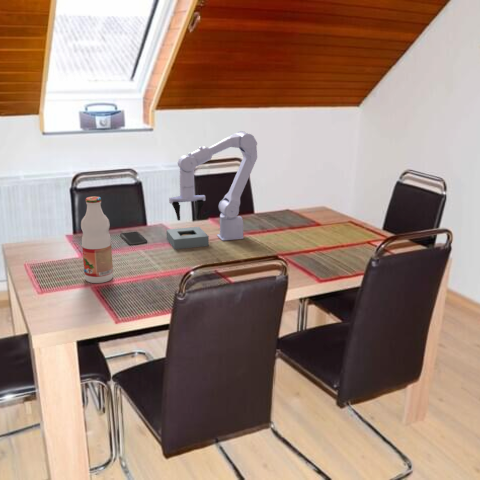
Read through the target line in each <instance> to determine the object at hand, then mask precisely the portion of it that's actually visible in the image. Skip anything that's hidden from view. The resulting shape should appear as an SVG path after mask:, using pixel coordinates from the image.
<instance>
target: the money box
mask: <svg viewBox="0 0 480 480" xmlns="http://www.w3.org/2000/svg"><path fill="white" fill-rule="evenodd" d="M165 234H166V240H167V242H168V243H169V244H170V245H171V247H172V248H173V249H174V250H178V249H179V250H181V249H191V248H200V247H209V242H210V241H209V239H210V238H209V235H208V234H207V233H206V232H205V231H204V230H203V229H202V228H201V227H200V226H193V227H182V228H179V227H178V228H168V229H166V233H165ZM183 234H191V235H184V236H182V235H183Z"/></svg>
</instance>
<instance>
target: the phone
mask: <svg viewBox="0 0 480 480" xmlns="http://www.w3.org/2000/svg"><path fill="white" fill-rule="evenodd" d="M119 236H120V237H121V238H122V239H123V241H126V242H125V243H126V244H127V245H128V246H136V245H143V244H147V243H148V240H147V238H145V237H144V235H142V234H141V233H140V232H139V231H130V232H122V233H120V234H119Z"/></svg>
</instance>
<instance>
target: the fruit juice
mask: <svg viewBox="0 0 480 480" xmlns="http://www.w3.org/2000/svg"><path fill="white" fill-rule="evenodd" d="M85 203H86V212H85V215H84V216H83V217H82V218H81V221H80V228H81V230H82V237H81V249H82V259H83V260H82V261H83V262H82V263H83V273H84V280H85V281H86V282H88V283H90V284H91V283H92V284H103V283H106V282H109V281H111V280H112V279H113V277H114V268H113V267H114V266H113V252H112V250H113V249H112V239H111V235H110V232H109V231H110V226H111V225H110V219H109V218H108V217H107V215H106V214H104V212H103V208H102V206H101V205H102V198H101V197H100V196H96V195H95V196H88V197H86V198H85Z"/></svg>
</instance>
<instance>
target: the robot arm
mask: <svg viewBox="0 0 480 480" xmlns="http://www.w3.org/2000/svg"><path fill="white" fill-rule="evenodd" d="M257 146H258V142H257V139H256V138H255V136H254V135H253V134H252V133H248V132H245V131H242V130H240V131H237V132H235V133H231V135H229V136H227V137H225V138H223V139H222V140H219V141H218V142H217V143H215V144H213V145H210V146H209V147H207V146H205V145H204V146H201V145H200V146H199V147H198V149H196V150H194V151H193V152H188V153H187V155H185V154H183V155H181V156H180V157H179V159H178V162H177V166H178V167H179V195H178V196H174V197H173V196H172V197H168V202H169V204H171V205H172V207H173V209H174V212H175V215H176V219H177V221H181V205H180V203H188V202H194V207H195V208H194V209H195V211H194V213H195V215H194V216H195V219H196V220H199V217H200V213H201V210H202V209H203V205H204V204H205V203H204V202H205V201H206V195H205V194H200V195H199V194H197V195H195V172H194V170H195V169H196V167H199V166H201V165H203V164H204V163H206V162H208V161H210V160H212V157H213V156H214V155H216V154H218V153H220V152H222V151H225V150H228V149H229V148H235V149H236V148H237V149H238V150H240V153H241V155H242V157H243V158H242V160H241V162H240V164H239V167H238V169H237V172H236V174H235V176H234V178H233V181H232V184H231V186H230V187H229V190H228V192H227V193H226V194H225V195H224V196H223V198H222V199H221V200H220V201H219V203H218V210H219V212H220V214H219V233H218V234H216V236H217V237H218V238H219V239H220V240H221V241H232V240H233V241H234V240H244V220H243V217H242V216H241V215H239V214H240V213H239V212H240V206H241V197H242V195H243V192H244V189H245V188H246V185H247V183H248V180H249V178H250V176H251V173H252V172H253V169H254V166H255V164H256V162H257V160H258V148H257Z"/></svg>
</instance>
